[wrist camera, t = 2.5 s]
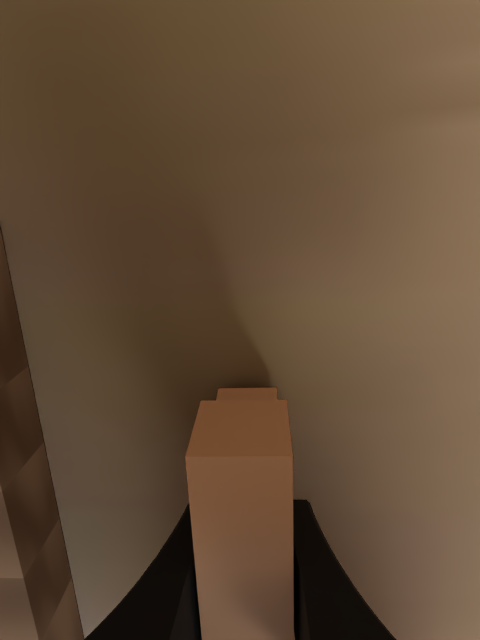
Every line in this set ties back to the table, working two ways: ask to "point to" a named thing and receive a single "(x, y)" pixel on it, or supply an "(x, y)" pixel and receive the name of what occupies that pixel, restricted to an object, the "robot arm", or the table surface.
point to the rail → (28, 502)
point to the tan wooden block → (243, 515)
